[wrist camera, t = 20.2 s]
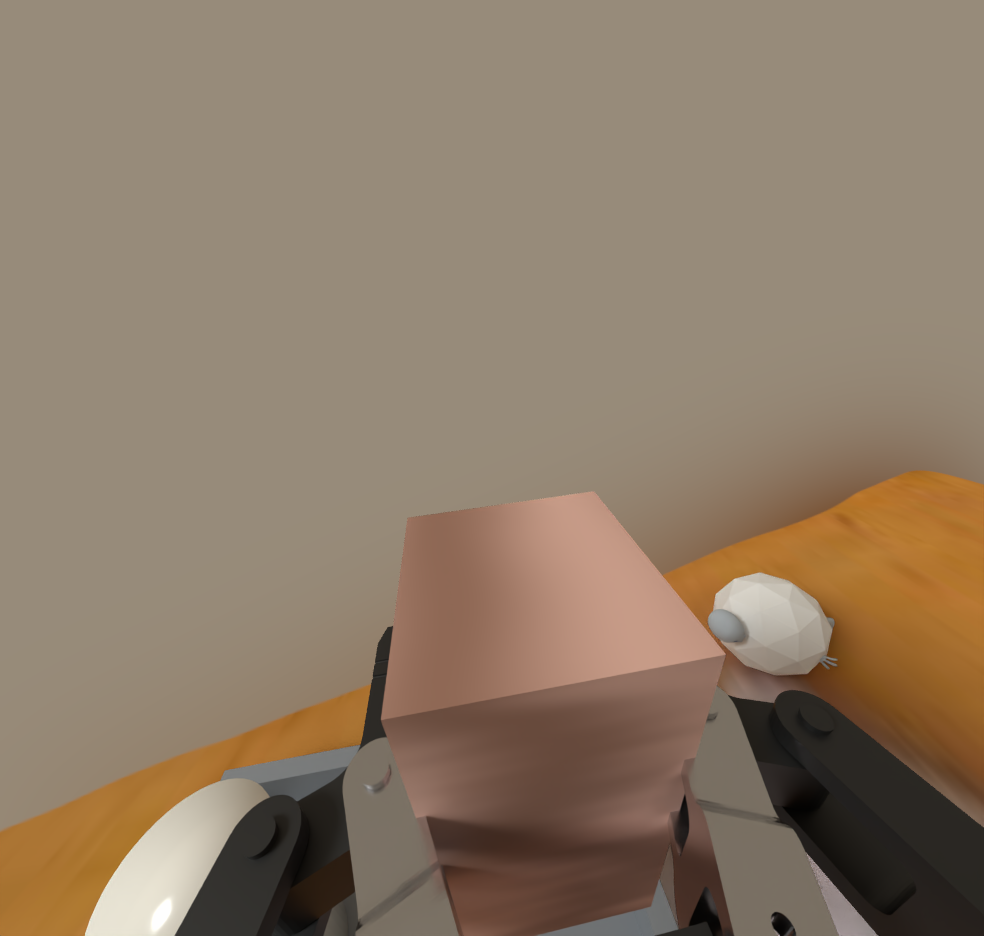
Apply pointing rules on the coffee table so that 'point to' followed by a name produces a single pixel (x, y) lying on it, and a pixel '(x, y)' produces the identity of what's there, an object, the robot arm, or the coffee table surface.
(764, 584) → the alien figurine
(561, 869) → the coral block
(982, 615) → the coffee table surface
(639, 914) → the tray
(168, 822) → the cream cylinder
